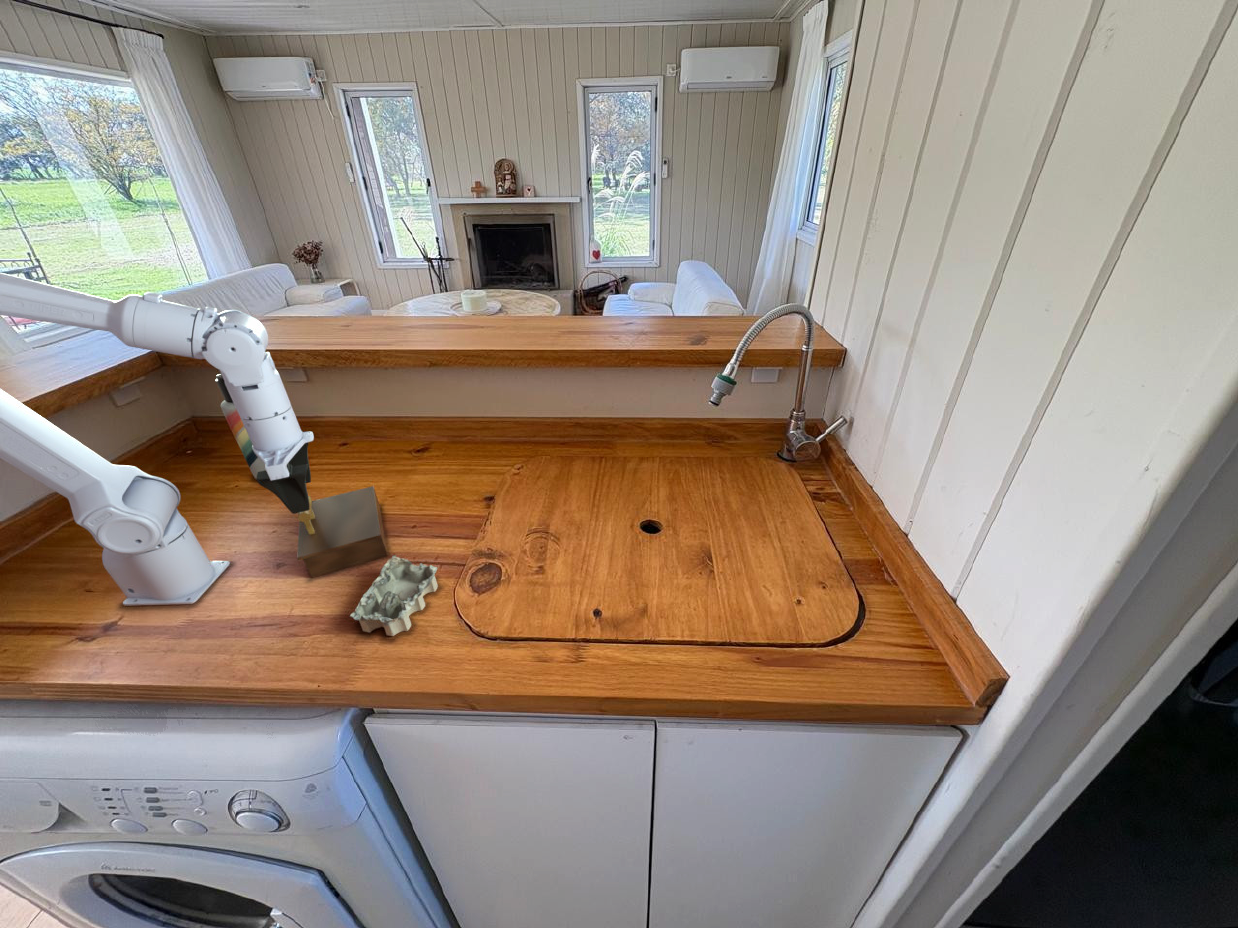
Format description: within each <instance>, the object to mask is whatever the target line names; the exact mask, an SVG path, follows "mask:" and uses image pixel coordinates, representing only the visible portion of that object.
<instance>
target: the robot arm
mask: <svg viewBox="0 0 1238 928" xmlns="http://www.w3.org/2000/svg"><path fill="white" fill-rule="evenodd" d="M0 316H5V317H11V318H18V319H24V320H31V321H38V322H43V323H50V324H58V325H64V326H70V327H76V328H83V329H89V330H95V331H102V332H103V331H104V332H109V333H111V334H112V335H114V336H115V337H116V338H117V339H118V340H119V341H120V342H121V343H122V344H124V345H125V346H127V347H130V348H135V349H136V348H137V349H142V350H147V351H152V352H158V353H164V354H169V355H173V356H180V357H186V358H192V359H196V360H197V359H198V360H205V361H206V362H207V363H208V364H209V365H211V366H212V367H214V368H215V369H218V370H219V372H220V374H222V376H223V378H224V381H225V385H226V387H227V389H228V392H229V394H230V396H231V398H232V400H233V403H234V405H235V407H236V409H237V411H238V413H239V416H240V418H241V420H242V422H243V425H244V427H245V429H246V431H247V433H248V436H249V438H250V440H251V442H252V444H253V445H252V449H253V451H254V453H255V454H256V455H257V456H258V458H259V459H260V460H261V461H262V462H263V463H264V465H265V469H266V470H264V471H259V472H257V477H256V479H255V480H256V481H257V483H258V484H259V486H261V487H263V488H265V489H267V490H268V491H270V492H271V493H272V494H273V495H275V496H276V497H277V498H278V499H279V500H280V501H281V502H282V504H283V505H284V506H285V507H286V509H288V511H290V513H292V514H293V515H296V514H298V513H299V512H303V511H307V510H309V497H308V496H309V493H308V489H307V484H309V483H311V482H312V476H311V475H312V474H311V467H310V463H309V462H310V461H309V451H308V448H309V443H310V442H311V443H312V442H313V441H314V439H315V436H314V433H313V431H302V429H301V427H300V423H299V421H298V419H297V416H296V414H295V411H294V408H293V405H292V403H291V401H290V398H289V395H288V393H287V391H286V388H285V385H284V382H283V381H282V378H281V375H280V373H279V371H278V370H277V368H276V365H275V362H274V360H273V358H272V356H271V353H270V352H269V351H267V348H268V344H269V335H268V331H267V329H266V327H265V326H264V324H263V323H262V322H261V321H260V320H259V319H257V318H256V317H255V316H253V315H250V314H248V313H245V312H242V311H241V310H238V309H228V310H224V311H221V312H219V313H218V308H216V307H211V306H205V307H204V309H202V308H199V307H194V306H191V305H185V304H181V303H175V302H171V301H167V300H164V299H163V294H161V293H158V292H157V293H156V292H153V291H146V292H145V293H143V294H142V295H140V294H137V293H131V294H128V295H125V296H124V297H123V298H121V299H119V300H111V299H108V298H103V297H100V296H95V295H91V294H88V293H83V292H80V291H75V290H71V289H67V288H63V287H60V286H55V285H51V284H47V283H45V282H40V281H35V280H31V279H27V278H24V277H20V276H16V275H12V274H7V273H3V272H0ZM0 459H1V460H3V461H4V462H6V463H8V464H9V465H11V466H12V467H14V468H16V469H18V470H19V471H20V472H21V471H22V472H23V473H24V474H26V475H28V476H29V477H31V478H33V479H34V480H36V481H37V482H39V483H41V484H43V485H45V486H46V487H47V488H49V489H51V490H53V491H54V492H56V493H58V494H59V495H61V496H63V497H65V498H66V499H67V500H68V502H69V505H70V509H71V513H72V516H73V520H74V522H75V523H76V524H77V525H79V526H80V527H82V528H83V529H85V530H87V532H89V533H90V534H91V536H92V537H93V539H94V541H95V542H96V543H97V544H98V546H100V547H101V548H103V550H102V554H101V560H102V565H103V567H104V569H105V570H106V572H107V573H108V575H109V576H110V577H111V578H112V579H113V581H114V582H115V584H116V585H117V586H118V588H119V589H120V591H121V592H122V593H123V594H124V596H125V597H126V599H124V600H123V602H122V605H123V606H124V607H129V606H131V607H133V606H135V607H136V606H161V605H162V606H164V605H165V606H166V605H167V606H168V605H170V606H171V605H191V604H194V603H196V602H197V601H199V599H200V598H201V597H202V596H203V595H204V593H205V592H207V590H209V588H210V587H211V586H212V584H214V583H215V581H216V580H217V579H219V577H220V576H221V575H222V573H224V571H225V570H226V569H227V568H228V567H229V566H230V565H231V562H230V561H229V560H212V561H211V560H210V559H209V557H208V556H207V553H206V552H205V550H204V548H203V547H202V545H201V544H200V542H199V540H198V539H197V537H196V534H194V532H193V530H192V528H191V527H190V525H189V523H188V522H187V519H185V517H184V516H182V514H181V513H180V511H179V510H178V506H179V505H180V502H181V498H182V497H181V493H180V490H179V489H178V487H177V486H176V485H175V484H173V483H172V482H171V481H169V480H168V479H165V478H162V477H159V476H156V475H151V474H149V473H147V472H145V471H143V470H141V469H140V468H138V467H137V466H134V465H125V464H113V463H111V462H110V461H108V460H107V459H105V458H104V457H102V456H101V455H99V454H98V453H97V452H95V451H94V450H92V449H90V448H89V447H87V446H86V445H85V444H83V443H81V442H80V441H79V440H78V439H76V438H74V437H73V436H72V435H69V434H68V433H67V432H66V431H64V430H63V429H61V428H59V427H58V426H56V424H55V425H54V424H53V423H52V422H50V421H49V420H47V419H46V418H45V417H43V416H41V415H40V414H38V413H37V412H36V411H34V410H32V409H31V408H30V407H28V406H27V405H25V404H23V403H22V402H21V401H19V400H18V399H16V398H15V397H14V396H12V395H10V393H8V392H6V391H4V390H3V389H2V388H0Z"/></svg>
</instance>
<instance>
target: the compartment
mask: <svg viewBox="0 0 1238 928" xmlns="http://www.w3.org/2000/svg"><path fill="white" fill-rule="evenodd" d="M374 491H375V497H376V504H377V510H378V517H379V523H380V530H381V538H377V539H374V540H370V541H367V542H363V543H360V544H356V545H352V546H349V547H345V548H342V549H338V550H335V551H331V552H327V553H324V554H320V555H317V556H313V557H309V558H306V559H302V560H303V562H304V565H305V567H306V569H307V571H308V573H309V576H310V578H311V579H314V578H319V577H321V576H324V575H328V574H331V573H334V572H338V571H341V570H346V569H349V568H352V567H356V566H359V565H362V564H365V563H369V562H372V561H376V560H379V559H382V558H386V557H388V556H389V553H388V548H387V541H386V536H385V530H384V529H385V528H384V523H383V518H382V517H383V515H382V510H381V505H380V501H379V498H378V495H377V492H376V490H375V488H374Z"/></svg>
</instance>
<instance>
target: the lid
mask: <svg viewBox="0 0 1238 928" xmlns="http://www.w3.org/2000/svg"><path fill="white" fill-rule="evenodd" d="M374 489H375V487H374V485H372V486H368V487H365V488H360V489H357V490H352V491H348V492H344V493H339V494H335V495H331V496H327V497H323V498H319V499H315V500H313V498H312V497H311V496H310V495H308V497H309V510H307V511H303V512H299V513H297V519H298V538H297V551H296V552H297V554H296V559H297V561H299V562H300V561H302V560H303V559H306V558H309V557H313V556H317V555H320V554H324V553H327V552H331V551H335V550H338V549H342V548H345V547H349V546H352V545H356V544H360V543H363V542H367V541H370V540H374V539H377V538H381V530H380V523H379V517H378V510H377V504H376V497H375V493H376V490H375V491H374Z"/></svg>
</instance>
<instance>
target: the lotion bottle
mask: <svg viewBox="0 0 1238 928" xmlns="http://www.w3.org/2000/svg"><path fill="white" fill-rule="evenodd" d="M215 382H216V385H217V387H218V389H219V391H220V393H221V395H222V397H223V399H224V400H223V401H222V402H221V403H220V408H221V411H222V413H223V415H224V417H225V420H226V422H227V424H228V426H229V428H230V430H231V432H232V434H233V436H234V439H235V440H236V442H237V444H238V447H239V449H240V451H241V453H242V455H243V458H244V459H245V462H246V464H247V466H248V468H249V470H250V472H251V474H252V476H253V478H254V479H255V480H257V479H256V477H257V472H259V471H264V470H266V469H265V465H264V463H263V462H262V461H261V460H260V459H259V458H258V456H257V455H256V454H255V453H254V451H253V449H252V445H253V444H252V442H251V440H250V438H249V436H248V433H247V431H246V429H245V427H244V425H243V422H242V420H241V418H240V416H239V413H238V411H237V409H236V407H235V405H234V403H233V400H232V398H231V396H230V394H229V392H228V389H227V387H226V385H225V381H224V378H223V376H222V374H221V373H219V374H217V375H216V379H215Z"/></svg>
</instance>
